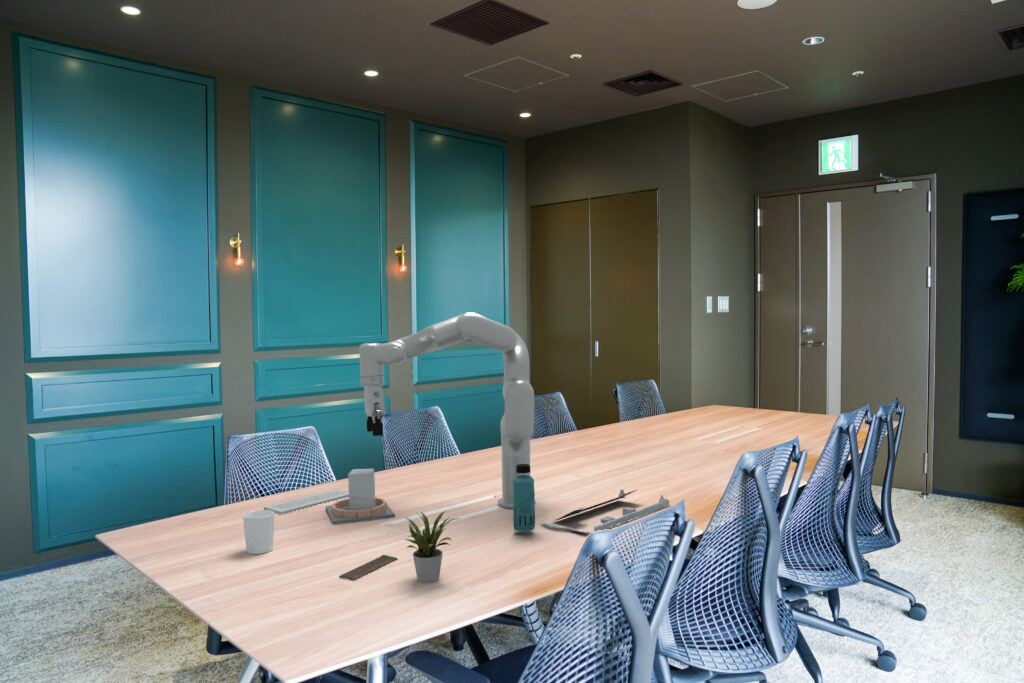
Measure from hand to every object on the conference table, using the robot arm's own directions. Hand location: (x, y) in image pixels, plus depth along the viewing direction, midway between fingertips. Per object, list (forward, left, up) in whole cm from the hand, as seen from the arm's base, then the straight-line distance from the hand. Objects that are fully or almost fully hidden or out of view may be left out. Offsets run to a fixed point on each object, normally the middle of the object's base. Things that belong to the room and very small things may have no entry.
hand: (374, 433), depth 222 cm
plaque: (+20, +18, -26) cm, 38 cm away
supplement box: (-1, +5, -25) cm, 25 cm away
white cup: (-25, +37, -26) cm, 51 cm away
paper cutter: (-36, -65, -26) cm, 79 cm away
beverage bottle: (-42, -34, -26) cm, 60 cm away
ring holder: (0, +6, -25) cm, 26 cm away
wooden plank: (-51, +12, -26) cm, 59 cm away
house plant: (-64, -1, -26) cm, 69 cm away
